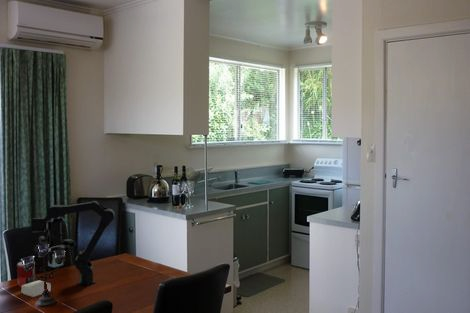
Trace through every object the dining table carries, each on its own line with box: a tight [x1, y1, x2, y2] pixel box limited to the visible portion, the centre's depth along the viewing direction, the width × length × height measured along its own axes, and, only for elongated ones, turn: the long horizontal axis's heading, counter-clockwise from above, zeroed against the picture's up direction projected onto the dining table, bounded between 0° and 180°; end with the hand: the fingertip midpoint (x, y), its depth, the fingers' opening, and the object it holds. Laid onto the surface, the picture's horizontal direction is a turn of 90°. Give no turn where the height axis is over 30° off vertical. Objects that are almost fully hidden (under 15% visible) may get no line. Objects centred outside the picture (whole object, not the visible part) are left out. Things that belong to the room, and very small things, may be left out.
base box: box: [20, 279, 52, 298], centre depth 215 cm, size 9×9×4 cm
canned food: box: [16, 261, 36, 288], centre depth 225 cm, size 8×8×11 cm
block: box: [47, 253, 64, 268], centre depth 224 cm, size 5×5×5 cm
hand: (55, 263), depth 224 cm, fingers closed on block, 5 cm apart
